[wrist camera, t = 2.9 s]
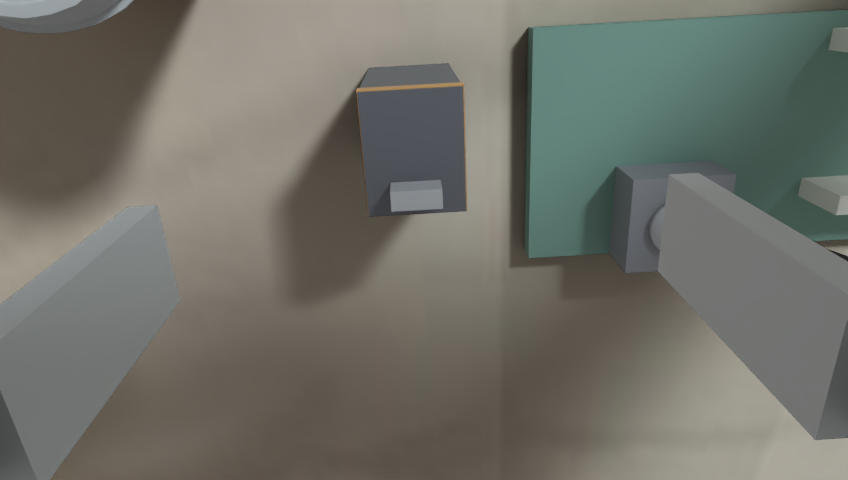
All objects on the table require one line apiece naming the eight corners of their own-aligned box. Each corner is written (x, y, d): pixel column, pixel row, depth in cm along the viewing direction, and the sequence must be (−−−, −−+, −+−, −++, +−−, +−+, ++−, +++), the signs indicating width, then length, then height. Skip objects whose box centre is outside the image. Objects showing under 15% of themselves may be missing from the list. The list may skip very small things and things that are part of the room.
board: (528, 27, 29) (547, 32, 25) (970, 2, 29) (1057, 3, 25) (524, 249, 33) (540, 282, 29) (904, 226, 34) (969, 257, 30)
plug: (367, 66, 29) (353, 96, 21) (449, 62, 29) (467, 90, 21) (376, 165, 31) (365, 228, 23) (452, 160, 31) (470, 222, 23)
